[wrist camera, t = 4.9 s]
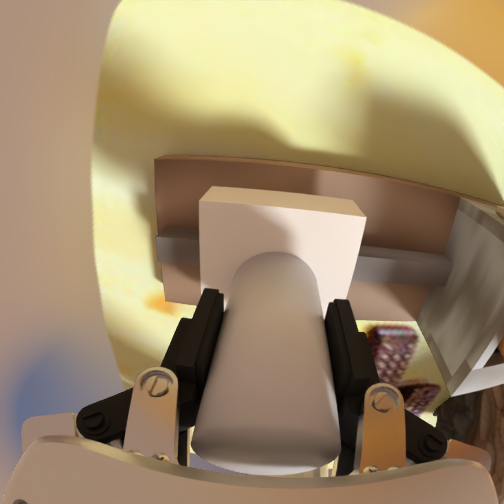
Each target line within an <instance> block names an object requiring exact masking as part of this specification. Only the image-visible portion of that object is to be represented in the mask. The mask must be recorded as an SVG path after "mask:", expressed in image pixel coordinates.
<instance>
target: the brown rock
mask: <svg viewBox="0 0 504 504" xmlns="http://www.w3.org/2000/svg"><path fill="white" fill-rule="evenodd" d="M433 416H437V423H436V427H435V428H437V429H438V430H440V431H441V432H442V433H443V434H444V435H445V437H446V439H447V440H448V441H449V440H450V439H453V440H456V441H459V442H462V443H465V444H468V445H471V446H474V447H477V448H481V449H484V450H485V451H487V452H488V453H489V455H490V457H491V468H490V472H489V474H490V476H491V478H492V481H493V483H494V486H495V490H496V493H497V498H498V503H499V504H504V384H500V385H497V386H494V387H490V388H486V389H482V390H479V391H475V392H470V393H466V394H462V395H457V396H452V397H450V398H449V399H448V400H447V401H446V402H444V403H443V404H441V405H440V406H439V407H438V408H437V409H436V410H435V412H434V413H433Z"/></svg>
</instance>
